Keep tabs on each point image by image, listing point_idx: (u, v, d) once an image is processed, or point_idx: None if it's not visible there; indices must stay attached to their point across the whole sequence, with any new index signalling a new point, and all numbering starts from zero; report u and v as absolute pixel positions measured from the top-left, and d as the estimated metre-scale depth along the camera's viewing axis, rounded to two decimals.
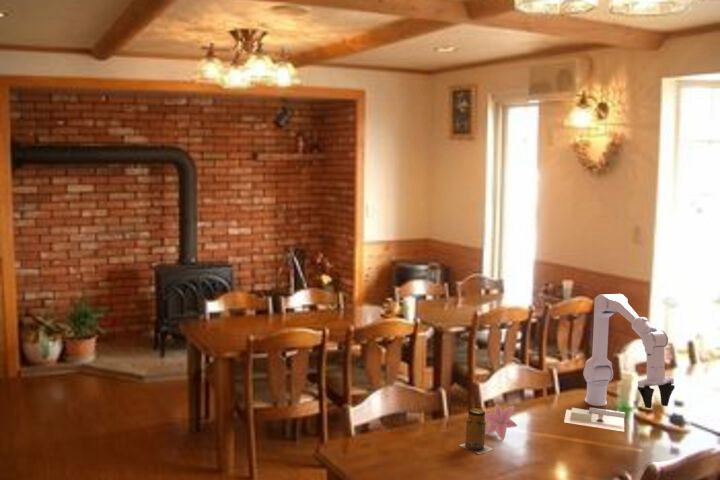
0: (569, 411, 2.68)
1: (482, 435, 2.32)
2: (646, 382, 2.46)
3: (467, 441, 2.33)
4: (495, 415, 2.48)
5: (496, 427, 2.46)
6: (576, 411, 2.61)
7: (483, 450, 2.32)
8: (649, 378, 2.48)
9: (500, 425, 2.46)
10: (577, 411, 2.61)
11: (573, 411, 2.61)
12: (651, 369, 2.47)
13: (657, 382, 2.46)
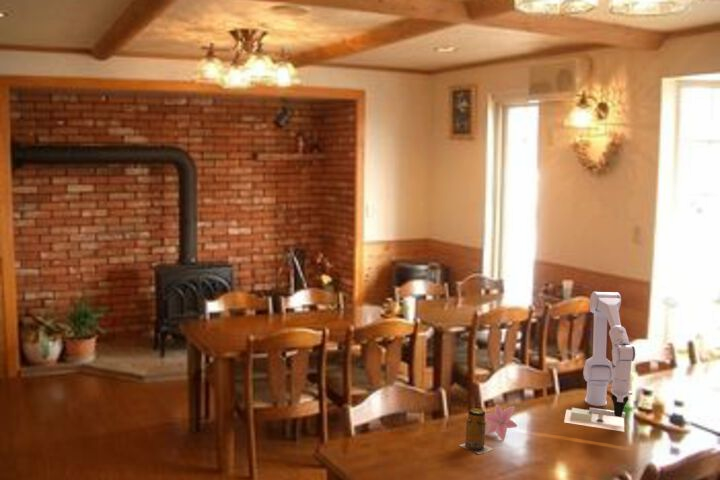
0: (569, 411, 2.68)
1: (482, 435, 2.32)
2: (624, 396, 2.50)
3: (467, 441, 2.33)
4: (495, 415, 2.47)
5: (496, 427, 2.45)
6: (576, 411, 2.61)
7: (483, 450, 2.32)
8: (620, 391, 2.53)
9: (500, 425, 2.46)
10: (577, 411, 2.61)
11: (573, 411, 2.61)
12: (623, 382, 2.52)
13: (627, 394, 2.53)
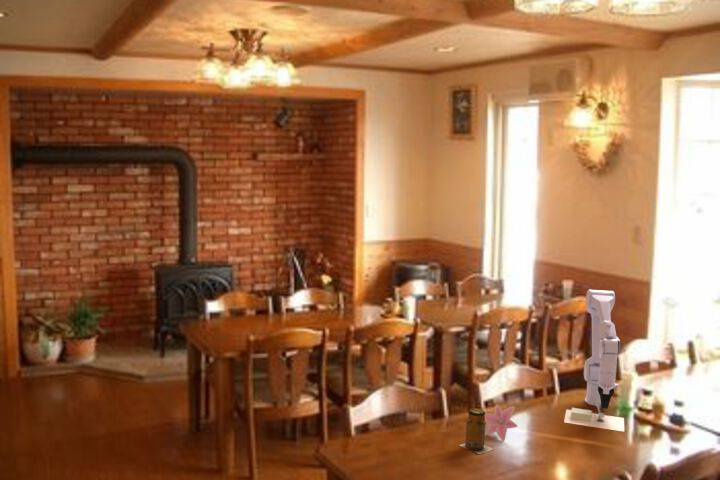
0: (569, 411, 2.68)
1: (482, 435, 2.32)
2: (609, 388, 2.58)
3: (467, 441, 2.33)
4: (495, 416, 2.47)
5: (496, 428, 2.45)
6: (576, 411, 2.61)
7: (483, 450, 2.32)
8: (606, 383, 2.61)
9: (500, 426, 2.45)
10: (577, 411, 2.61)
11: (573, 411, 2.61)
12: (609, 375, 2.60)
13: (613, 386, 2.61)
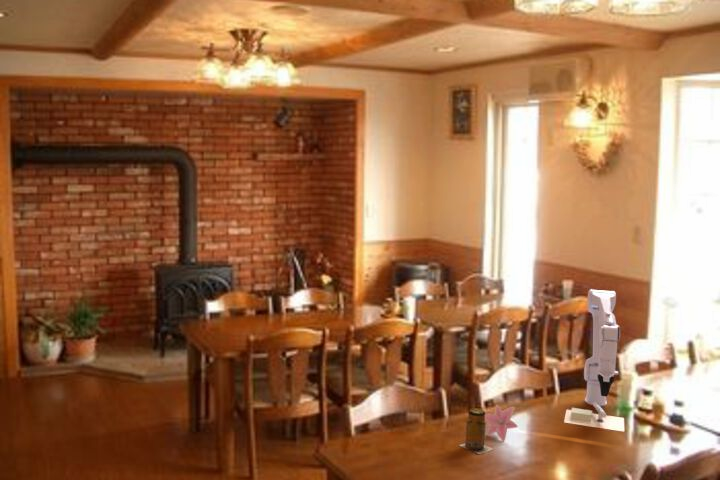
0: (569, 411, 2.68)
1: (482, 435, 2.32)
2: (610, 376, 2.55)
3: (467, 441, 2.33)
4: (495, 416, 2.47)
5: (496, 428, 2.45)
6: (576, 411, 2.61)
7: (483, 450, 2.32)
8: (606, 371, 2.57)
9: (500, 426, 2.45)
10: (577, 411, 2.61)
11: (573, 411, 2.61)
12: (609, 362, 2.57)
13: (613, 374, 2.58)
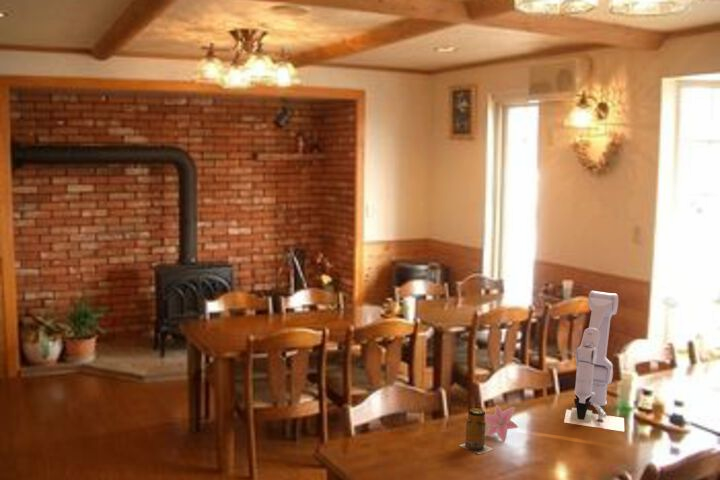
0: (569, 411, 2.68)
1: (482, 435, 2.32)
2: (586, 397, 2.55)
3: (467, 441, 2.33)
4: (495, 416, 2.46)
5: (497, 428, 2.44)
6: (576, 411, 2.61)
7: (483, 450, 2.32)
8: (582, 392, 2.58)
9: (500, 426, 2.45)
10: None
11: (573, 411, 2.61)
12: (586, 383, 2.57)
13: (590, 395, 2.58)
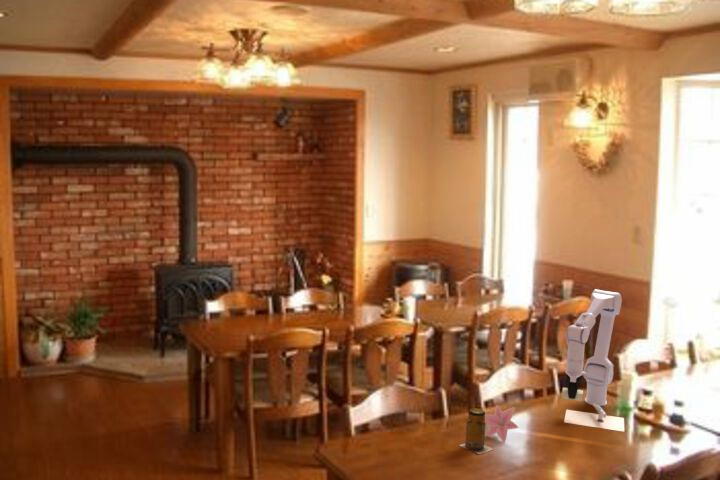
0: (569, 411, 2.68)
1: (482, 435, 2.32)
2: (577, 376, 2.55)
3: (467, 441, 2.33)
4: (495, 417, 2.46)
5: (497, 429, 2.44)
6: (567, 391, 2.61)
7: (483, 450, 2.32)
8: (573, 371, 2.58)
9: (501, 427, 2.44)
10: None
11: (564, 391, 2.61)
12: (576, 363, 2.58)
13: (581, 374, 2.58)
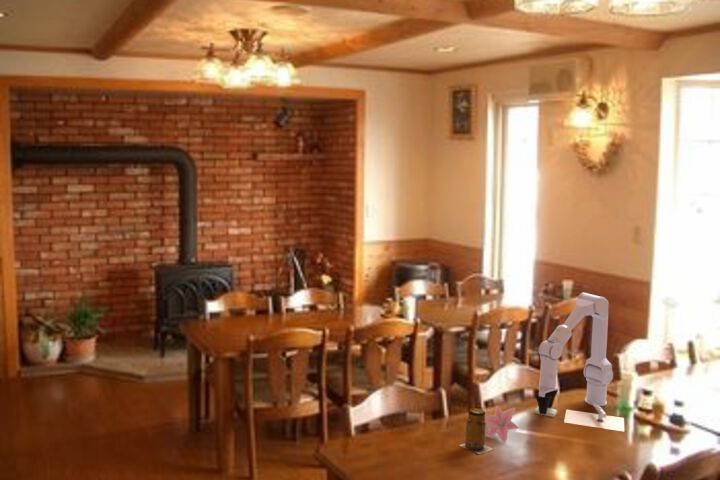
0: (569, 411, 2.68)
1: (482, 435, 2.32)
2: (546, 391, 2.59)
3: (467, 441, 2.33)
4: (495, 417, 2.46)
5: (497, 429, 2.44)
6: None
7: (483, 450, 2.32)
8: (545, 386, 2.62)
9: (501, 427, 2.44)
10: None
11: (537, 409, 2.66)
12: (548, 378, 2.61)
13: (552, 390, 2.62)
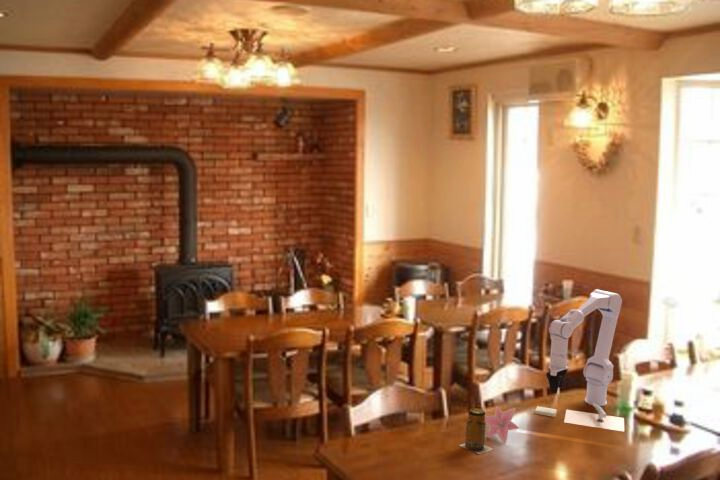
0: (569, 411, 2.68)
1: (482, 435, 2.32)
2: (557, 370, 2.59)
3: (467, 441, 2.33)
4: (496, 418, 2.45)
5: (497, 430, 2.43)
6: (540, 409, 2.65)
7: (483, 450, 2.32)
8: (556, 365, 2.62)
9: (501, 428, 2.44)
10: (541, 409, 2.65)
11: (537, 409, 2.65)
12: (559, 357, 2.61)
13: (563, 369, 2.62)
